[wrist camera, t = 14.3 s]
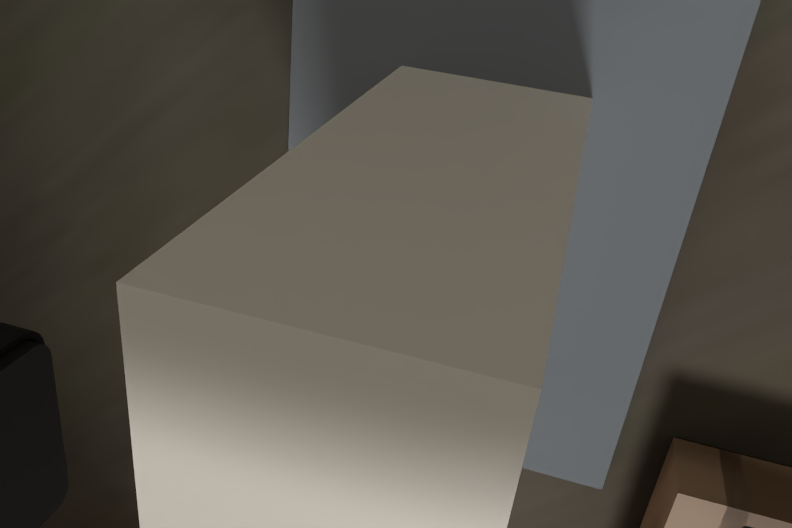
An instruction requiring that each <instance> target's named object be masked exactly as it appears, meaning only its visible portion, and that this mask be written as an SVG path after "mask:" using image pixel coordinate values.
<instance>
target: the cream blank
mask: <svg viewBox="0 0 792 528" xmlns="http://www.w3.org/2000/svg"><path fill="white" fill-rule="evenodd" d="M591 104H592V98H588V97H583V96H577V95H571V94H565V93H559V92H553V91H548V90H542V89H536V88H530V87H524V86H518V85H513V84H507V83H501V82H495V81H489V80H483V79H478V78H472V77H466V76H460V75H454V74H448V73H443V72H437V71H431V70H425V69H419V68H413V67H407V66H400V67H399V68H398V69H396V70H395V71H394V72H393V73H391V74H390V75H389V76H387V77H386V78H385V79H383V80H382V81H381V82H379V83H378V84H377V85H375V86H374V87H373V88H371V89H370V90H369V91H367V92H366V93H365V94H364V95H362V96H361V97H360V98H358V99H357V100H356V101H354V102H353V103H352V104H350V105H349V106H348V107H346V108H345V109H344V110H342V111H341V112H340V113H338V114H337V115H336V116H335V117H333V118H332V119H331V120H329V121H328V122H327V123H325V124H324V125H323V126H321V127H320V128H319V129H317V130H316V131H315V132H313V133H312V134H311V135H309V136H308V137H307V138H306V139H304V140H303V141H302V142H300V143H299V144H298V145H296V146H295V147H294V148H292V149H291V150H290V151H288V152H287V153H286V154H284V155H283V156H282V157H280V158H279V159H278V160H277V161H275V162H274V163H273V164H271V165H270V166H269V167H267V168H266V169H265V170H263V171H262V172H261V173H259V174H258V175H257V176H255V177H254V178H253V179H251V180H250V181H249V182H248V183H246V184H245V185H244V186H242V187H241V188H240V189H238V190H237V191H236V192H234V193H233V194H232V195H230V196H229V197H228V198H226V199H225V200H224V201H222V202H221V203H220V204H219V205H217V206H216V207H215V208H213V209H212V210H211V211H209V212H208V213H207V214H205V215H204V216H203V217H201V218H200V219H199V220H197V221H196V222H195V223H194V224H192V225H191V226H190V227H188V228H187V229H186V230H184V231H183V232H182V233H180V234H179V235H178V236H176V237H175V238H174V239H172V240H171V241H170V242H168V243H167V244H166V245H165V246H163V247H162V248H161V249H159V250H158V251H157V252H155V253H154V254H153V255H151V256H150V257H149V258H147V259H146V260H145V261H143V262H142V263H141V264H139V265H138V266H137V267H136V268H134V269H133V270H132V271H130V272H129V273H128V274H126V275H125V276H124V277H122V278H121V279H120V280H118V281H117V282H116V287H117V297H118V308H119V318H120V329H121V339H122V349H123V360H124V370H125V380H126V391H127V401H128V411H129V422H130V432H131V442H132V453H133V463H134V474H135V484H136V494H137V505H138V515H139V525H140V528H507V525H508V521H509V517H510V513H511V509H512V505H513V501H514V497H515V493H516V489H517V485H518V481H519V477H520V473H521V469H522V465H523V461H524V457H525V453H526V449H527V445H528V441H529V437H530V433H531V429H532V425H533V421H534V416H535V412H536V408H537V404H538V400H539V396H540V392H541V388H542V382H543V376H544V371H545V365H546V359H547V354H548V348H549V342H550V337H551V331H552V325H553V320H554V314H555V308H556V303H557V297H558V291H559V286H560V280H561V274H562V269H563V263H564V257H565V252H566V246H567V240H568V235H569V229H570V223H571V218H572V212H573V206H574V201H575V195H576V189H577V184H578V178H579V172H580V167H581V161H582V155H583V150H584V144H585V138H586V133H587V127H588V121H589V115H590V110H591Z"/></svg>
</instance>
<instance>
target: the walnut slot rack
mask: <svg viewBox="0 0 792 528" xmlns="http://www.w3.org/2000/svg"><path fill="white" fill-rule="evenodd" d="M743 526H749V527H753V528H792V468H791V467H787V466H783V465H780V464H776V463H772V462H768V461H764V460H760V459H756V458H752V457H748V456H744V455H740V454H736V453H733V452H729V451H725V450H721V449H717V448H713V447H709V446H705V445H701V444H697V443H693V442H690V441H686V440H682V439H678V438H674V437H673V440H672V442H671V445H670V448H669V450H668V453H667V456H666V458H665V461H664V464H663V467H662V469H661V472H660V475H659V477H658V480H657V483H656V485H655V488H654V491H653V493H652V496H651V499H650V501H649V504H648V507H647V509H646V512H645V515H644V518H643V520H642V523H641V526H640V528H742V527H743Z"/></svg>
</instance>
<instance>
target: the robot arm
mask: <svg viewBox="0 0 792 528" xmlns="http://www.w3.org/2000/svg"><path fill="white" fill-rule="evenodd" d="M67 489H68V475H67V468H66V461H65V453H64V446H63V438H62V431H61V424H60V416H59V409H58V401H57V394H56V386H55V379H54V372H53V364H52V357H51V352H50V349H49V348H48V347H47V346H46V345H45V344H44V341H43V338H42V337H41V335H40V334H39V333H37V332H34V331H31V330H27V329H23V328H20V327H16V326H12V325H9V324H5V323H0V528H39V527H40V526H41V525H42V524H43V523H44V522H45V521H46V520H47V519H48V518H49V517H50V515H51V514H52V513H53V512H54V511H55V510H56V509H57V508H58V507H59V506H60V504H61V503H62V501H63V499H64V498H65V495H66V492H67ZM742 528H753V527H749V526H743V527H742Z"/></svg>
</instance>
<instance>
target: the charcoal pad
mask: <svg viewBox="0 0 792 528" xmlns="http://www.w3.org/2000/svg"><path fill="white" fill-rule="evenodd" d="M760 2H761V0H293V15H292V47H291V79H290V111H289V143H288V151H290V150H291V149H292V148H294V147H295V146H296V145H298V144H299V143H300V142H302V141H303V140H304V139H306V138H307V137H308V136H309V135H311V134H312V133H313V132H315V131H316V130H317V129H319V128H320V127H321V126H323V125H324V124H325V123H327V122H328V121H329V120H331V119H332V118H333V117H335V116H336V115H337V114H338V113H340V112H341V111H342V110H344V109H345V108H346V107H348V106H349V105H350V104H352V103H353V102H354V101H356V100H357V99H358V98H360V97H361V96H362V95H364V94H365V93H366V92H367V91H369V90H370V89H371V88H373V87H374V86H375V85H377V84H378V83H379V82H381V81H382V80H383V79H385V78H386V77H387V76H389V75H390V74H391V73H393V72H394V71H395V70H396V69H398V68H399V67H400V66H407V67H413V68H419V69H425V70H431V71H437V72H443V73H448V74H454V75H460V76H466V77H472V78H478V79H483V80H489V81H495V82H501V83H507V84H513V85H518V86H524V87H530V88H536V89H542V90H548V91H553V92H559V93H565V94H571V95H577V96H583V97H588V98H592V104H591V110H590V115H589V121H588V127H587V133H586V138H585V144H584V150H583V155H582V161H581V167H580V172H579V178H578V184H577V189H576V195H575V201H574V206H573V212H572V218H571V223H570V229H569V235H568V240H567V246H566V252H565V257H564V263H563V269H562V274H561V280H560V286H559V291H558V297H557V303H556V308H555V314H554V320H553V325H552V331H551V337H550V342H549V348H548V354H547V359H546V365H545V371H544V376H543V382H542V388H541V392H540V396H539V400H538V404H537V408H536V412H535V416H534V421H533V425H532V429H531V433H530V437H529V441H528V445H527V449H526V453H525V457H524V461H523V465H522V468H524V469H528V470H532V471H535V472H539V473H542V474H546V475H550V476H553V477H557V478H561V479H564V480H568V481H572V482H575V483H579V484H583V485H586V486H590V487H593V488H597V489H601V490H602V488H603V485H604V482H605V478H606V475H607V472H608V469H609V466H610V463H611V460H612V457H613V454H614V451H615V448H616V445H617V442H618V438H619V435H620V432H621V429H622V426H623V423H624V420H625V417H626V414H627V411H628V408H629V405H630V402H631V399H632V395H633V392H634V389H635V386H636V383H637V380H638V377H639V374H640V371H641V368H642V365H643V362H644V359H645V355H646V352H647V349H648V346H649V343H650V340H651V337H652V334H653V331H654V328H655V325H656V322H657V319H658V315H659V312H660V309H661V306H662V303H663V300H664V297H665V294H666V291H667V288H668V285H669V282H670V279H671V275H672V272H673V269H674V266H675V263H676V260H677V257H678V254H679V251H680V248H681V245H682V242H683V239H684V235H685V232H686V229H687V226H688V223H689V220H690V217H691V214H692V211H693V208H694V205H695V202H696V199H697V195H698V192H699V189H700V186H701V183H702V180H703V177H704V174H705V171H706V168H707V165H708V162H709V159H710V156H711V152H712V149H713V146H714V143H715V140H716V137H717V134H718V131H719V128H720V125H721V122H722V119H723V116H724V112H725V109H726V106H727V103H728V100H729V97H730V94H731V91H732V88H733V85H734V82H735V79H736V76H737V72H738V69H739V66H740V63H741V60H742V57H743V54H744V51H745V48H746V45H747V42H748V39H749V36H750V32H751V29H752V26H753V23H754V20H755V17H756V14H757V11H758V8H759V5H760Z"/></svg>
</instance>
